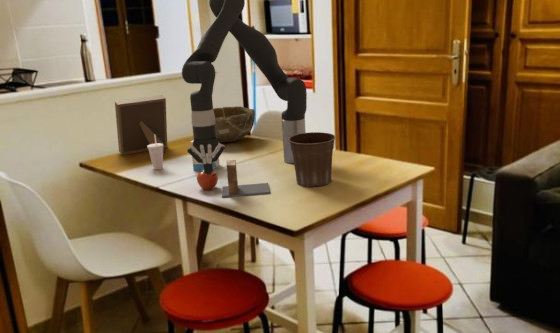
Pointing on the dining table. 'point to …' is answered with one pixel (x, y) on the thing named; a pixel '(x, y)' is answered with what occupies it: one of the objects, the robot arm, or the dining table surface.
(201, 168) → the milk carton
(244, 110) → the bowl
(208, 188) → the tomato
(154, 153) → the smoothie
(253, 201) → the dining table surface
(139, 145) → the photo frame
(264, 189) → the mat
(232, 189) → the walnut slab
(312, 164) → the plant pot
